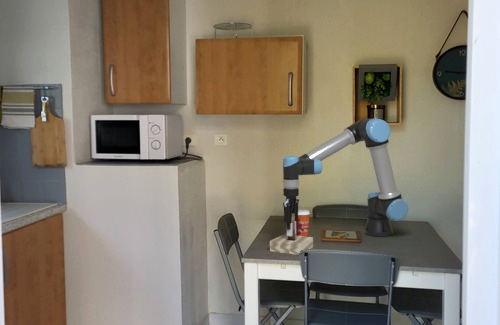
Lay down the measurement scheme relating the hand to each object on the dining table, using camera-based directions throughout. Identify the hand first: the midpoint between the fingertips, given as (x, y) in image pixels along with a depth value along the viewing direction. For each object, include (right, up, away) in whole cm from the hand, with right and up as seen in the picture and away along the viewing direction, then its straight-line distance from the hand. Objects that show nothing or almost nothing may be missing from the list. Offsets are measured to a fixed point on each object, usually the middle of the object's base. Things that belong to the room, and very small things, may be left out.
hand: (291, 234), depth 245 cm
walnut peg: (0, -4, 0) cm, 4 cm away
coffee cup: (+8, -5, +22) cm, 24 cm away
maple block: (0, -7, +1) cm, 7 cm away
